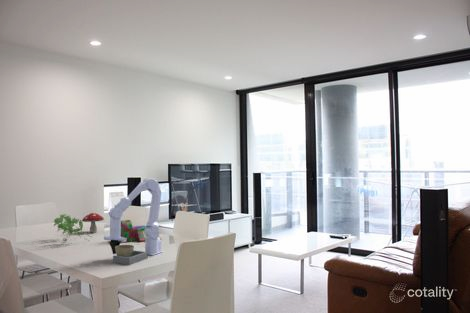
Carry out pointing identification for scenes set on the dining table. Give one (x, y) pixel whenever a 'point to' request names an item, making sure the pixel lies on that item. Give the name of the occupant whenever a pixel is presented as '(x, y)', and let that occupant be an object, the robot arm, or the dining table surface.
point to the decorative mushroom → (93, 220)
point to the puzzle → (132, 232)
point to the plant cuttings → (68, 225)
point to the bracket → (130, 258)
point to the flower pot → (124, 250)
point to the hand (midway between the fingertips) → (114, 253)
